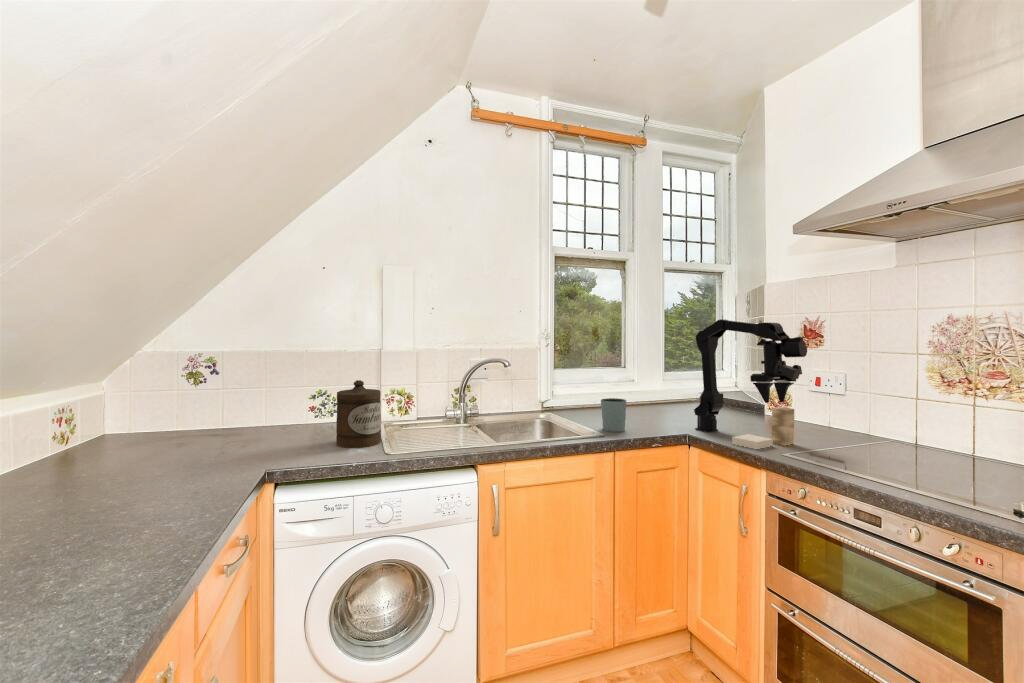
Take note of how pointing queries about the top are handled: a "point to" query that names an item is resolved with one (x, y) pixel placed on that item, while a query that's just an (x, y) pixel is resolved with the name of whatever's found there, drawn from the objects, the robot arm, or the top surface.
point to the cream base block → (752, 441)
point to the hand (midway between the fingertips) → (774, 402)
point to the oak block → (783, 425)
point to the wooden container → (358, 417)
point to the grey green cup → (613, 414)
